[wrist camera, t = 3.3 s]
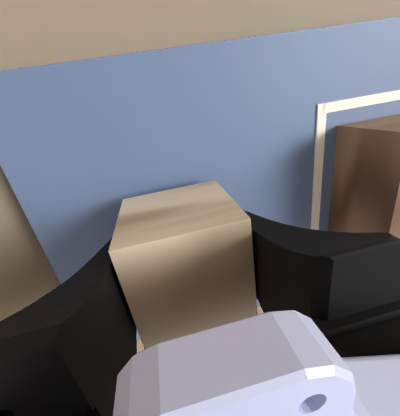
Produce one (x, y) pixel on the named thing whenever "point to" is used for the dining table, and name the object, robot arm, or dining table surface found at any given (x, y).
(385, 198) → the walnut base
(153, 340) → the maple cube
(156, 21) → the dining table surface
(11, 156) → the board
